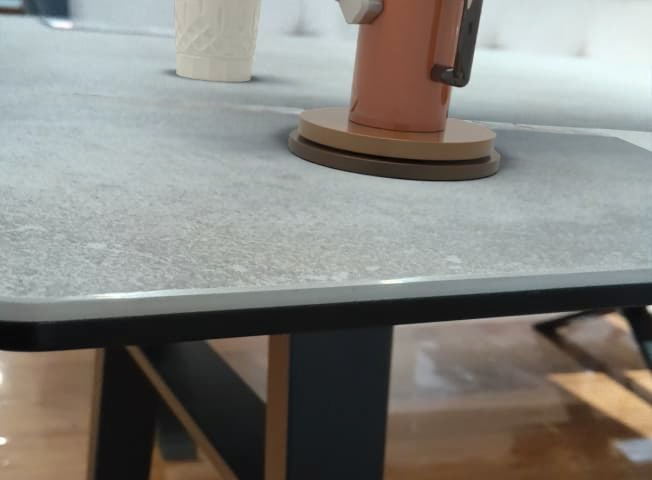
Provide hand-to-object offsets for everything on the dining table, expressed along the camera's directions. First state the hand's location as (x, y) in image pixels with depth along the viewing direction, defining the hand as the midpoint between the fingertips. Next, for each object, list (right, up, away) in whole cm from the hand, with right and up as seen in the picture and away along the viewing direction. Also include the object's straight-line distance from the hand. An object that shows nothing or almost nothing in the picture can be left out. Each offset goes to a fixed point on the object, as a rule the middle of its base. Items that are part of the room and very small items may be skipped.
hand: (418, 20), depth 51 cm
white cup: (-13, +7, +30) cm, 33 cm away
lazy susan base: (-1, -7, +4) cm, 8 cm away
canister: (-1, -7, +4) cm, 8 cm away
